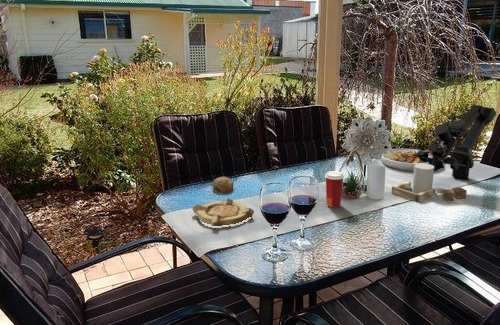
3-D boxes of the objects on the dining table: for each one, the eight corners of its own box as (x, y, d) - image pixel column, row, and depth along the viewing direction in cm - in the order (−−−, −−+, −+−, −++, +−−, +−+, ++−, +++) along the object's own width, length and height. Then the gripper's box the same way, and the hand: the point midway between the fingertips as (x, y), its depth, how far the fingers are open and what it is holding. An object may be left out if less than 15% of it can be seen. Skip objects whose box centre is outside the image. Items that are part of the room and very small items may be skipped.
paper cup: (344, 203, 180) (346, 171, 176) (340, 209, 173) (341, 177, 169) (326, 200, 183) (327, 169, 179) (321, 207, 176) (322, 175, 172)
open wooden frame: (408, 187, 197) (409, 181, 196) (434, 195, 186) (435, 189, 185) (391, 193, 190) (391, 186, 189) (417, 201, 180) (418, 195, 179)
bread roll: (211, 197, 200) (206, 185, 195) (219, 182, 207) (215, 170, 202) (230, 200, 197) (226, 187, 191) (237, 184, 203) (234, 172, 198)
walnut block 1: (452, 198, 182) (453, 190, 181) (453, 202, 179) (454, 193, 178) (442, 197, 184) (443, 189, 183) (442, 201, 180) (443, 192, 179)
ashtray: (194, 232, 156) (193, 220, 155) (192, 208, 179) (191, 197, 178) (257, 227, 160) (257, 215, 158) (248, 204, 182) (247, 193, 181)
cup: (426, 187, 195) (428, 163, 191) (434, 194, 187) (437, 168, 184) (409, 188, 195) (411, 163, 191) (416, 195, 187) (419, 169, 183)
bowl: (397, 174, 216) (398, 160, 214) (370, 159, 244) (370, 145, 242) (450, 170, 222) (451, 155, 219) (417, 155, 250) (418, 142, 248)
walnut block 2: (459, 196, 185) (460, 187, 184) (465, 199, 182) (466, 190, 181) (451, 196, 185) (452, 188, 184) (457, 200, 181) (458, 191, 180)
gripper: (420, 133, 197) (403, 159, 194) (459, 140, 182) (440, 169, 180) (429, 147, 204) (412, 173, 201) (466, 155, 189) (449, 183, 186)
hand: (427, 174), depth 192 cm, fingers closed, pressing on cup
